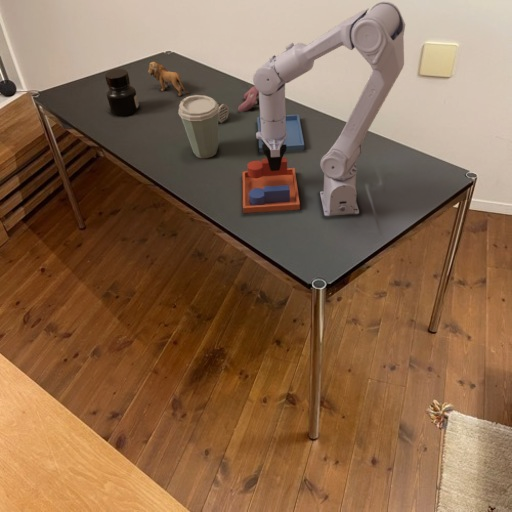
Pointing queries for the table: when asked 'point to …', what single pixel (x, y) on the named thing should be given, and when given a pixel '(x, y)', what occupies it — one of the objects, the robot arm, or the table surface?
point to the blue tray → (289, 134)
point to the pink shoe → (249, 99)
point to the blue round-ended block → (269, 195)
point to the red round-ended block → (265, 168)
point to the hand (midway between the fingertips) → (274, 166)
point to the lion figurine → (165, 77)
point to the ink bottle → (121, 93)
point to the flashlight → (222, 111)
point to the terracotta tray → (271, 181)
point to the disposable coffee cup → (201, 124)
